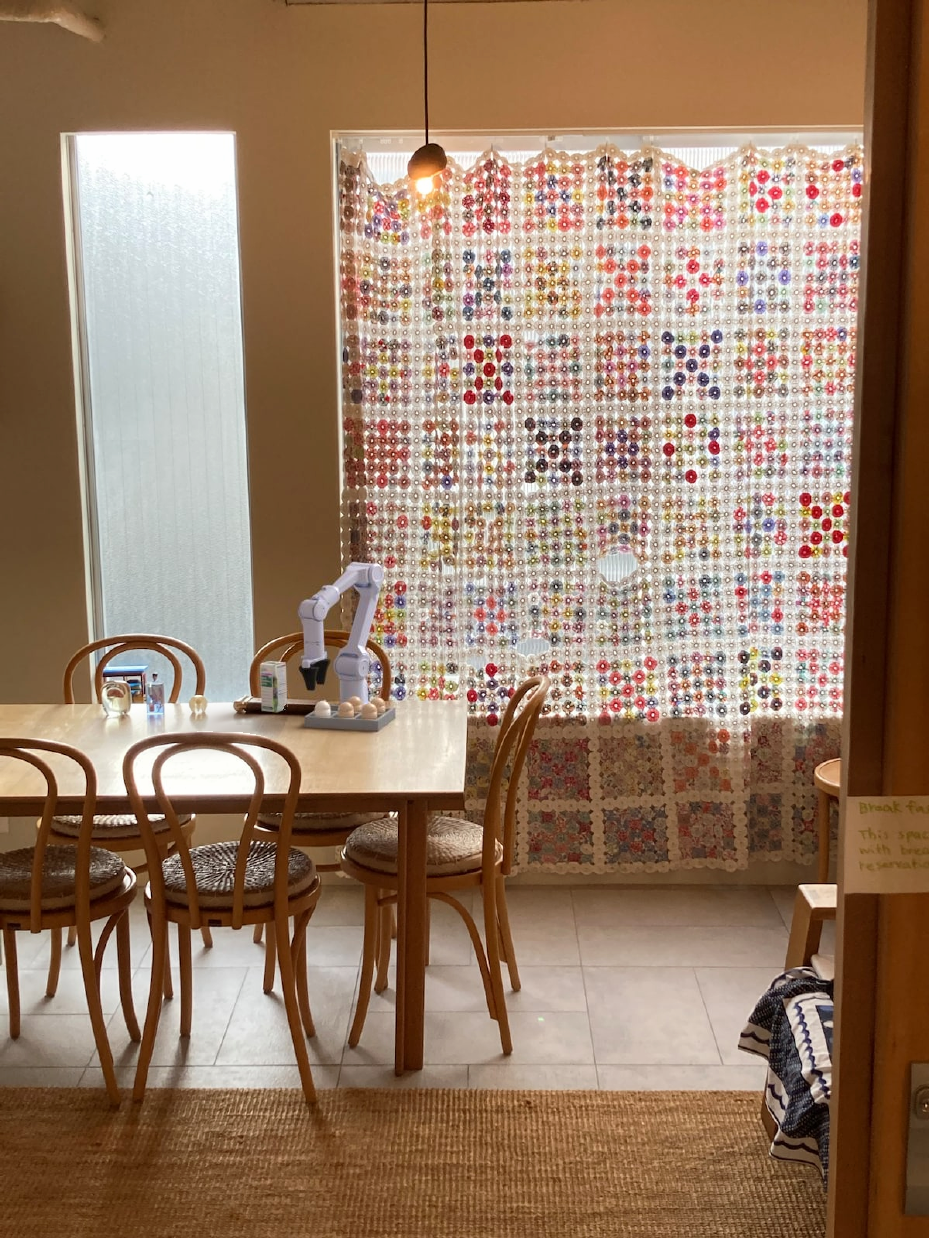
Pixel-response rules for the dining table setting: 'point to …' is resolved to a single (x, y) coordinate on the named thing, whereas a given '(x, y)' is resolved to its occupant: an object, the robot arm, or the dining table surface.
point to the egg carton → (354, 716)
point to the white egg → (322, 709)
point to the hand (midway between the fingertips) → (315, 687)
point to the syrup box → (273, 686)
